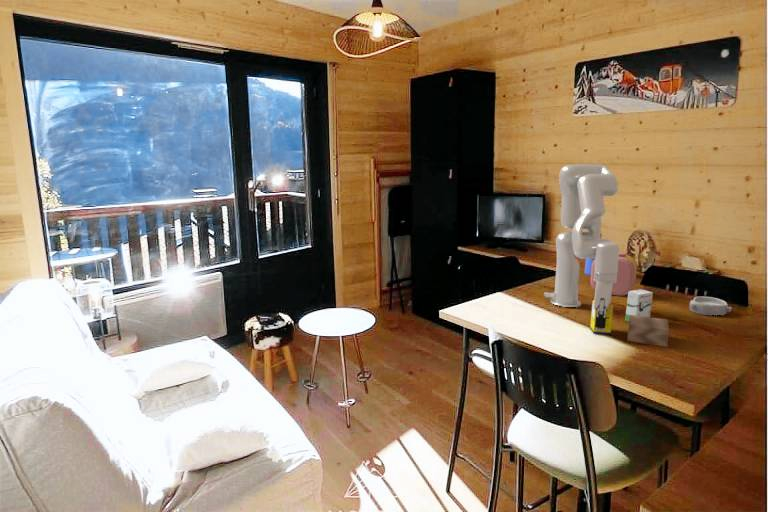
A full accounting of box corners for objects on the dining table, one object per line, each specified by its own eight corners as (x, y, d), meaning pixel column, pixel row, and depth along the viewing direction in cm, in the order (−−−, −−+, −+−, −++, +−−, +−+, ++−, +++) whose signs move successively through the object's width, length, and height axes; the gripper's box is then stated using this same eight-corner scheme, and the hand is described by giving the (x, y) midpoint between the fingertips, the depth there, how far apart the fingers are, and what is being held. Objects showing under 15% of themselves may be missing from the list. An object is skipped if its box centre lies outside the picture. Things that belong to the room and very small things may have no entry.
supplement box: (611, 334, 174) (613, 305, 172) (593, 333, 175) (595, 304, 173) (607, 329, 180) (609, 300, 178) (589, 328, 181) (592, 299, 179)
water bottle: (586, 275, 264) (590, 230, 260) (582, 272, 274) (586, 228, 269) (604, 276, 263) (608, 230, 258) (599, 272, 272) (603, 228, 267)
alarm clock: (634, 293, 230) (638, 252, 226) (632, 298, 221) (636, 256, 217) (592, 287, 240) (596, 249, 236) (588, 292, 230) (592, 252, 227)
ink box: (635, 324, 185) (639, 294, 183) (624, 320, 190) (627, 291, 187) (650, 321, 189) (653, 291, 187) (638, 317, 194) (641, 288, 191)
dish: (689, 314, 198) (691, 302, 197) (685, 305, 210) (687, 294, 210) (732, 319, 192) (734, 307, 191) (725, 309, 204) (727, 298, 203)
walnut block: (627, 340, 168) (628, 324, 167) (628, 330, 179) (629, 314, 177) (667, 346, 163) (669, 329, 162) (665, 335, 173) (667, 319, 172)
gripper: (595, 271, 183) (591, 316, 186) (591, 280, 168) (587, 330, 171) (617, 273, 179) (613, 319, 183) (615, 283, 164) (610, 333, 168)
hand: (600, 324), depth 177 cm, fingers closed on supplement box, 7 cm apart
